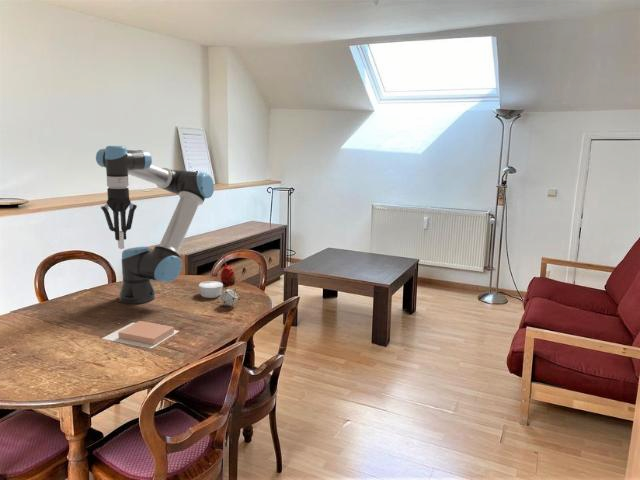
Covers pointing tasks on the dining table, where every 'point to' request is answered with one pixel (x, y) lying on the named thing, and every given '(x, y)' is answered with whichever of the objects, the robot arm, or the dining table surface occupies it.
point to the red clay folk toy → (227, 274)
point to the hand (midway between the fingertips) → (121, 248)
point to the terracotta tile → (146, 332)
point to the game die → (229, 297)
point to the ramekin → (210, 289)
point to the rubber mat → (116, 338)
